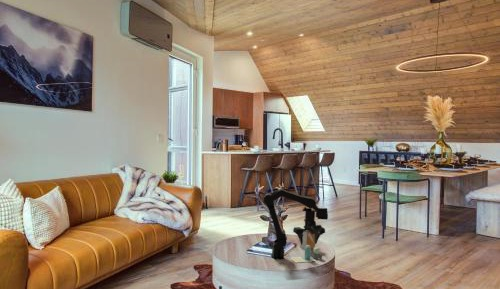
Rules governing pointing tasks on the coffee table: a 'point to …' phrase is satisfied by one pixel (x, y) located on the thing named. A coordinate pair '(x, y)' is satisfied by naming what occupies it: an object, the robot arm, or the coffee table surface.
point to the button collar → (316, 255)
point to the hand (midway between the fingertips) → (308, 244)
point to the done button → (316, 251)
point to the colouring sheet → (300, 259)
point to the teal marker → (307, 252)
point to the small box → (308, 240)
